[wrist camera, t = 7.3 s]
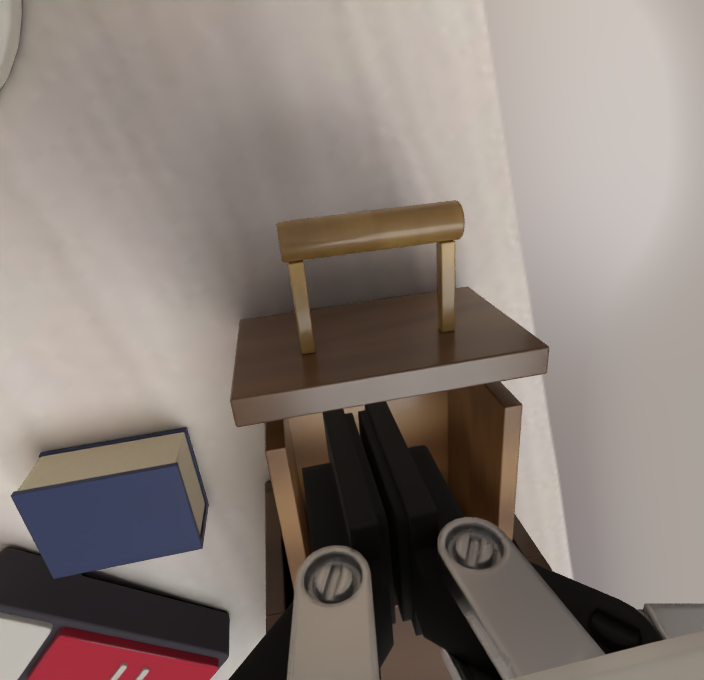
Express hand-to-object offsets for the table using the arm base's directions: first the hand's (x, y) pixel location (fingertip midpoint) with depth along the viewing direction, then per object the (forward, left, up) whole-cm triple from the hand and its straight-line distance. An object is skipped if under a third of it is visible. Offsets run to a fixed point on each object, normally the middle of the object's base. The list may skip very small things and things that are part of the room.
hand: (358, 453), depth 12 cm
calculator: (+3, -28, -14) cm, 31 cm away
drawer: (+5, -2, -13) cm, 14 cm away
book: (-1, -15, -14) cm, 21 cm away
